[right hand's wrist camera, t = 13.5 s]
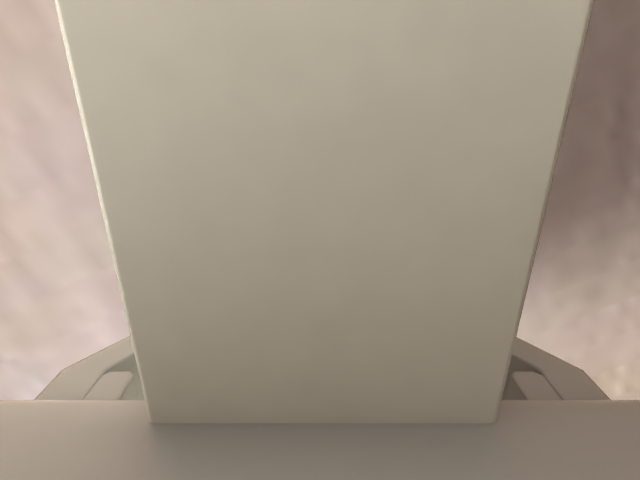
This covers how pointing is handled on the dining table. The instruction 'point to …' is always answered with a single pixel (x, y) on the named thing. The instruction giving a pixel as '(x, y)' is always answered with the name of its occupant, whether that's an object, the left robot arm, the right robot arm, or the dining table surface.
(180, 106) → the bar
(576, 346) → the dining table surface
